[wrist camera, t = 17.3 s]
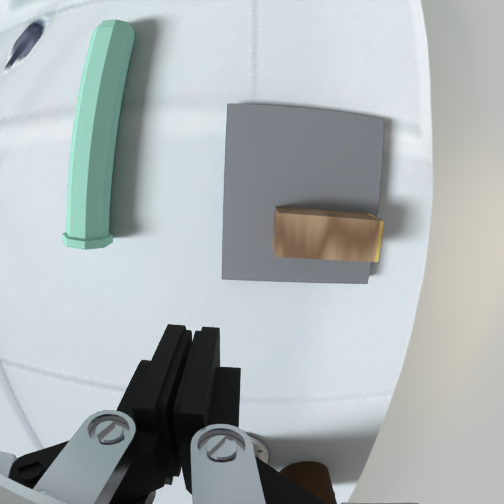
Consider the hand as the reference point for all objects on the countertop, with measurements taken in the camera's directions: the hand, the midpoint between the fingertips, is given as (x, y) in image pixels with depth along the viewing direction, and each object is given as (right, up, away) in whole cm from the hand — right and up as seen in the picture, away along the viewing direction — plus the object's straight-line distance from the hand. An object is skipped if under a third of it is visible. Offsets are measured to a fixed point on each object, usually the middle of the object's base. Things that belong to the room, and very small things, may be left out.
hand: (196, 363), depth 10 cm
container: (-14, +17, +22) cm, 31 cm away
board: (+7, +10, +23) cm, 26 cm away
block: (+4, +6, +20) cm, 21 cm away
